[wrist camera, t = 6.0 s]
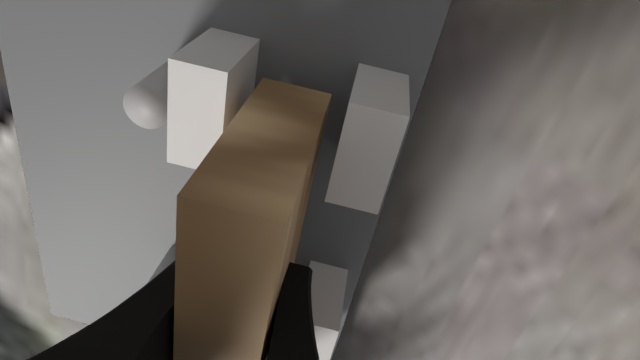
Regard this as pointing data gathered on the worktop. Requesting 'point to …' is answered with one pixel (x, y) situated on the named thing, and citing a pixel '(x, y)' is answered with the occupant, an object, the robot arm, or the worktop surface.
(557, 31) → the worktop surface
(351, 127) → the board
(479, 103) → the worktop surface
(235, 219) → the oak block
